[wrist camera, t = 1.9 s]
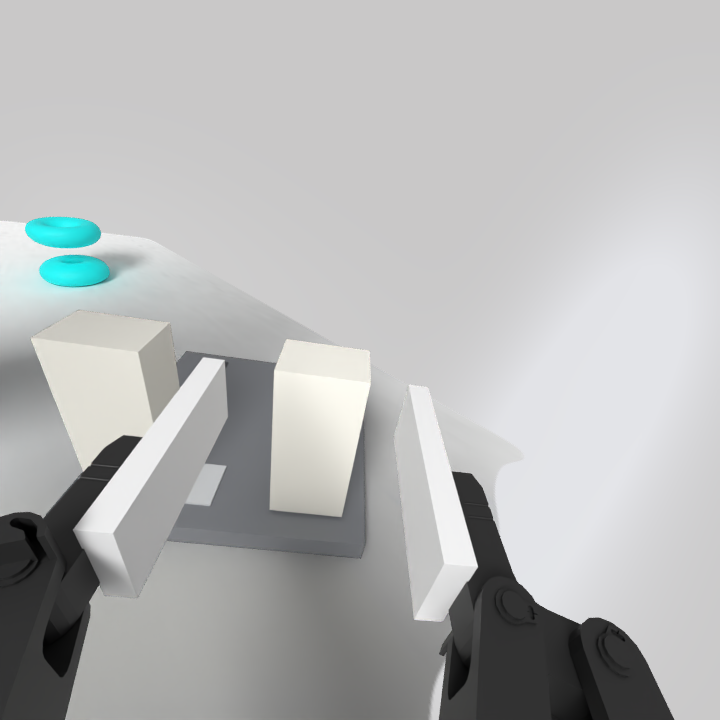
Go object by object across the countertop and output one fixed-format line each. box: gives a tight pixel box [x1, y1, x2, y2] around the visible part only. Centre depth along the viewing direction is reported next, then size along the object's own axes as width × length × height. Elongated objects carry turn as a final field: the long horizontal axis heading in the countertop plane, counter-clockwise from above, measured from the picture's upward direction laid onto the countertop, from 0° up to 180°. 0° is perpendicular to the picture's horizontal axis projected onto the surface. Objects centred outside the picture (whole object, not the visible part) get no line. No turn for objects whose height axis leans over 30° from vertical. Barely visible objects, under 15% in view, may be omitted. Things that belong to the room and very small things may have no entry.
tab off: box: [30, 310, 180, 472], centre depth 25 cm, size 4×6×14 cm, turn 90°
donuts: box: [25, 217, 110, 287], centre depth 61 cm, size 10×10×10 cm
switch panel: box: [46, 351, 365, 558], centre depth 37 cm, size 24×24×2 cm
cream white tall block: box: [270, 339, 371, 517], centre depth 26 cm, size 4×6×14 cm, turn 90°
